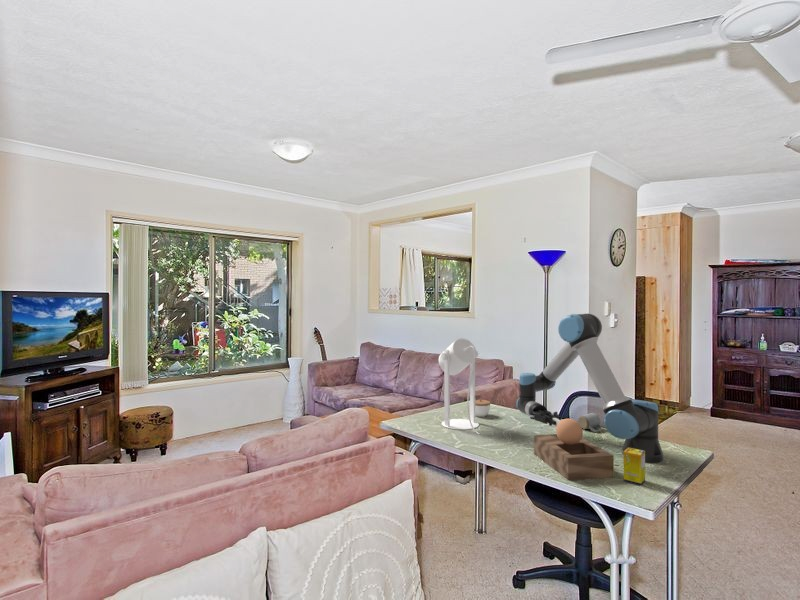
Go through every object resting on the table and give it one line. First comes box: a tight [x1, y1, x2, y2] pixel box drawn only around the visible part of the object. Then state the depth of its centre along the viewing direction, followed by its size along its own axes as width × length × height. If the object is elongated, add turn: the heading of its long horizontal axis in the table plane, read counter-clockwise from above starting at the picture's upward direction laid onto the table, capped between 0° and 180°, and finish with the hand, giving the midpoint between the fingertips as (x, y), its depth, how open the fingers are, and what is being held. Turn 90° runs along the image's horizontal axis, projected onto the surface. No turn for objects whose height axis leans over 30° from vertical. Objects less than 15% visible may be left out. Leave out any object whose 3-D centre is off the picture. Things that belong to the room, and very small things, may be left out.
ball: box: [555, 418, 584, 445], centre depth 185 cm, size 10×10×10 cm
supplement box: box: [622, 448, 646, 486], centre depth 168 cm, size 6×6×11 cm
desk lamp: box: [438, 337, 481, 435], centre depth 239 cm, size 21×32×45 cm, turn 28°
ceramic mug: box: [577, 412, 602, 433], centre depth 232 cm, size 11×8×8 cm
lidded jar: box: [475, 398, 491, 418], centre depth 260 cm, size 11×11×9 cm
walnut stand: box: [533, 433, 615, 481], centre depth 184 cm, size 28×18×8 cm, turn 9°
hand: (561, 425), depth 190 cm, fingers closed
